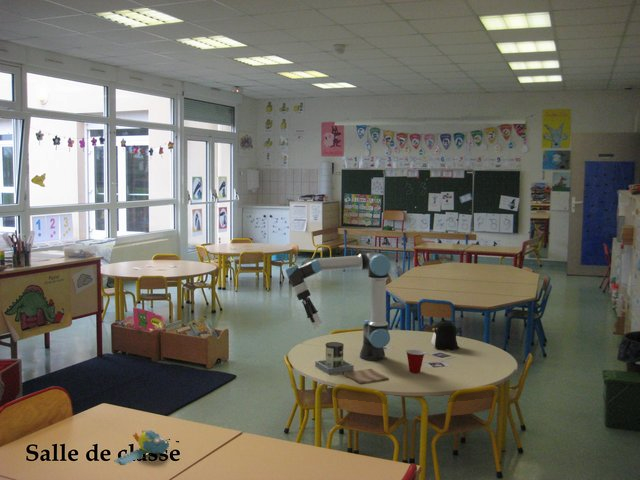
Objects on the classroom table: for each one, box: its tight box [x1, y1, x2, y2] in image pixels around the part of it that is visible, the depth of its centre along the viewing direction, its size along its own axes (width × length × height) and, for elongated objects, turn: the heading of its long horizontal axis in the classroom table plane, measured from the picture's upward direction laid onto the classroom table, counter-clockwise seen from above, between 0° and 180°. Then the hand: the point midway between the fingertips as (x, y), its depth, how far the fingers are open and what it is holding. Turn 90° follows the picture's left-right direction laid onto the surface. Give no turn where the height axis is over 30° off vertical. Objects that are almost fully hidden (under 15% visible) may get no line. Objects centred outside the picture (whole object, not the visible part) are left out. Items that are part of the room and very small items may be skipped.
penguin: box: [430, 319, 460, 350], centre depth 401 cm, size 18×18×17 cm
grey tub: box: [314, 359, 355, 375], centre depth 355 cm, size 16×16×3 cm
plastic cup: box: [405, 349, 426, 374], centre depth 350 cm, size 11×11×12 cm
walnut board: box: [342, 368, 390, 385], centre depth 340 cm, size 18×18×1 cm
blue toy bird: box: [114, 429, 169, 466], centre depth 244 cm, size 28×9×15 cm
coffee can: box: [325, 341, 345, 368], centre depth 354 cm, size 10×10×14 cm
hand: (318, 325), depth 352 cm, fingers open, 13 cm apart
